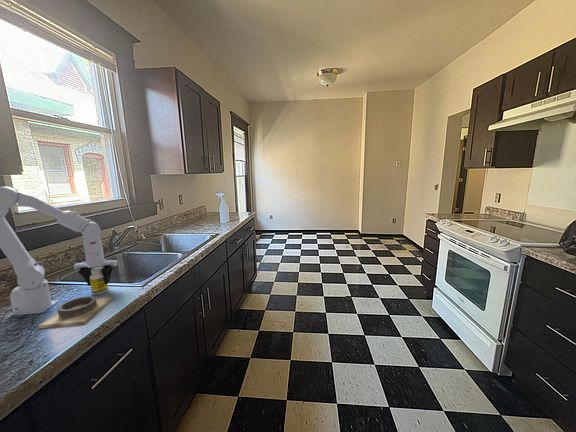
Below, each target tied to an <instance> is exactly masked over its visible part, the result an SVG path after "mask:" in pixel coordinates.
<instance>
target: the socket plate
mask: <svg viewBox="0 0 576 432" xmlns="http://www.w3.org/2000/svg"><path fill="white" fill-rule="evenodd" d="M112 300H113V297H112V296H110V297H109V296H108V297H107V296H106V297H96V296H93V295H86V296H85V295H84V296H80V297H75V298H73V299H69V300H67V301H64V302H63V303H62V304H60V305H58V307H57V311H56V312H54V313H53V314H51V315H50V317H48V318H46V319H45V320H44V321H42V322H41V323H39V324H38V325H37V327H38V329H46V328H55V327H57V328H58V327H69V326H70V327H71V326H80V325H81V326H82V325H85V324H87V323H88V322H89V321H90V320H91V319H92V318H93V317H94V316H96V315H97V314H98V313H99V312H100V311H101V310H102V309H103V308H104V307H106V306H107V304H109V303H110V302H111V301H112Z"/></svg>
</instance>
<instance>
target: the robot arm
mask: <svg viewBox="0 0 576 432" xmlns="http://www.w3.org/2000/svg"><path fill="white" fill-rule="evenodd" d="M15 205H16V207H24V208H25V207H27V208H31V209H34V210H37V211H39V212H40V213H43V214H45V215H47V216H51V217H52V218H55V219H56V221H57V223H58V224H59V225H60V226H63V227H66V228H67V229H70V230H72V231H74V232H77V233H81V235H82V237H83V249H84V255H85V261H83V262H76V263H74V264H73V269H74V270H78V274H79V275H80V276H81V277H82V278H83V279H84V280H85V282H86V284H87V286H90V287H91V285H90V276H91V275H92V274H91V270H92V269H93V268H99V267H102V269H101V271H102V273H103V276H104V281H105V284H107V285H108V284H109V283H110V279H111V274H112V271H113V269H114V267H116V266H118V260H117V259H115V260H114V259H113V260H112V259H105V255H104V247H103V241H102V237H101V233H102V229H101V227H100V225H99V224H98V223H96V221H94V220H91V219H90V218H86V217H84V216H81V215H79V214H78V212H77V211H76V210H74V211H71V210H61V209H60V208H58V207H55V206H54V205H51V204H50V203H48V202H46V201H44V200H42V199H40V198H39V197H36V196H35V195H32V194H29V193H28V192H25V191H21V190H18V189H16V188H14V187H12V186H7V185H6V186H5V185H4V186H0V250H1V251H2V253H3V254H4V255H5V257H6V258H7V259H8V261H9V262H10V264H11V265H12V268H13V271H14V273H15V275H16V277H17V281H16V282H17V284H18V286H16V287H14V288H13V289H12V291H11V292H10V295H9V299H10V300H9V301H10V304H11V309H12V313H10V316H20V315H31V314H33V315H34V314H41V313H44V312H45V311H47V310H49V309H50V308H51V307H53V306H55V305H56V304H58V302H59V300H52V298H51V292H50V286H49V281H48V280H47V279H45V277H44V276H45V274H46V269H45V267H44V266H43V265H41V264H39V263H37V261H36V260H35V259H34V257H32V256H31V255H30V253H29V252H28V251H27V249H26V247H25V246H24V244H23V243H22V242H21V240H20V238H19V237H18V235H17V234H16V233H15V231H14V229H13V227H11V225H10V224H9V222H8V221H7V219H6V218H5V216H6V215H7V213H8V212H9V210H10V209H11V208H12V207H13V206H15Z"/></svg>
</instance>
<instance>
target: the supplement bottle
mask: <svg viewBox="0 0 576 432" xmlns="http://www.w3.org/2000/svg"><path fill="white" fill-rule="evenodd" d="M102 268H103V267H93V268H92V270H91V274H92V275H91V276H90V290H91V294H92V295H101V294H104V293H107V292H108V290H109V287H108V284H105V281H104V276H103V273H102V271H101V269H102Z"/></svg>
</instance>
